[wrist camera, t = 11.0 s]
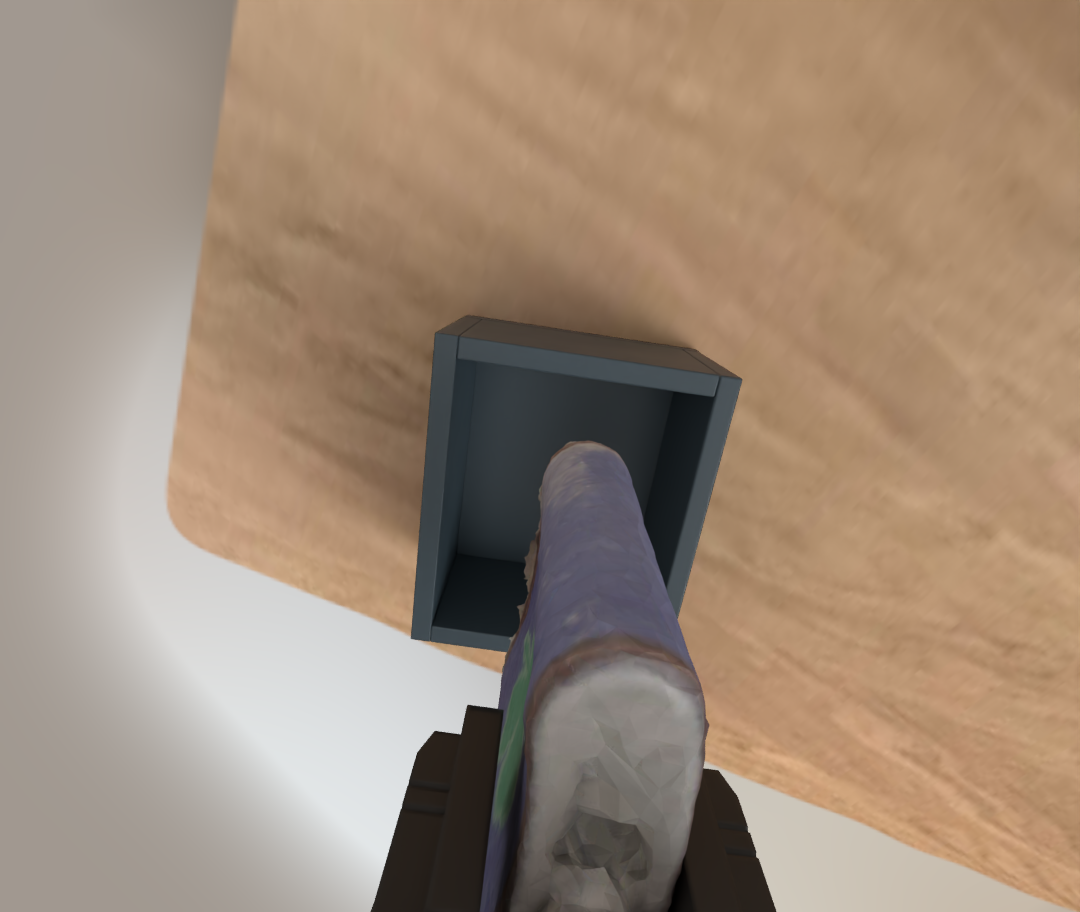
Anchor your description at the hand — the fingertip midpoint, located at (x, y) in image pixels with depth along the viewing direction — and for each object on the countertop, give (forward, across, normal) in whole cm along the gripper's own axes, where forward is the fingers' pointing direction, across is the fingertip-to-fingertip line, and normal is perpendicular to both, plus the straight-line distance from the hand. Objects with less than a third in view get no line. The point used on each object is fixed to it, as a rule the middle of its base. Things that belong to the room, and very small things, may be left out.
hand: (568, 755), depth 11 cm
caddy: (+17, 0, 0) cm, 17 cm away
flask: (+6, 0, 0) cm, 6 cm away
